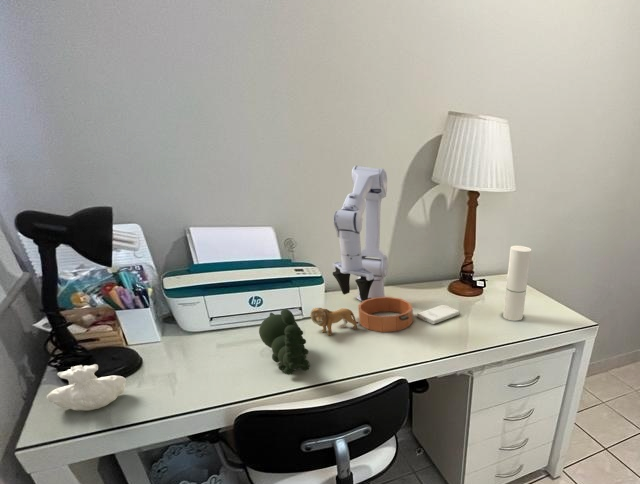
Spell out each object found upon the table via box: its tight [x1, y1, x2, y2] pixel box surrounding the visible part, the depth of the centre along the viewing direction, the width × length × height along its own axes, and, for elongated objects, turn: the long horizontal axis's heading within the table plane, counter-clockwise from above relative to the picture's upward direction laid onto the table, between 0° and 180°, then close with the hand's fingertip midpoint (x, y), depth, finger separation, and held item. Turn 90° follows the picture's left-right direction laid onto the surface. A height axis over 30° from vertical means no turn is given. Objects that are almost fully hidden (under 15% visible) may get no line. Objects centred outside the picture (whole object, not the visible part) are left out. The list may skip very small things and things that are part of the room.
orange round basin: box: [357, 296, 414, 333], centre depth 136 cm, size 20×17×5 cm
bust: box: [46, 363, 127, 411], centre depth 85 cm, size 12×8×11 cm
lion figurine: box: [310, 307, 359, 336], centre depth 125 cm, size 15×5×9 cm, turn 142°
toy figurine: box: [258, 308, 311, 376], centre depth 105 cm, size 9×19×25 cm
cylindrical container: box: [502, 245, 532, 322], centre depth 145 cm, size 7×7×25 cm
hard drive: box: [416, 304, 460, 325], centre depth 144 cm, size 2×8×12 cm
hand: (355, 296), depth 128 cm, fingers open, 7 cm apart
